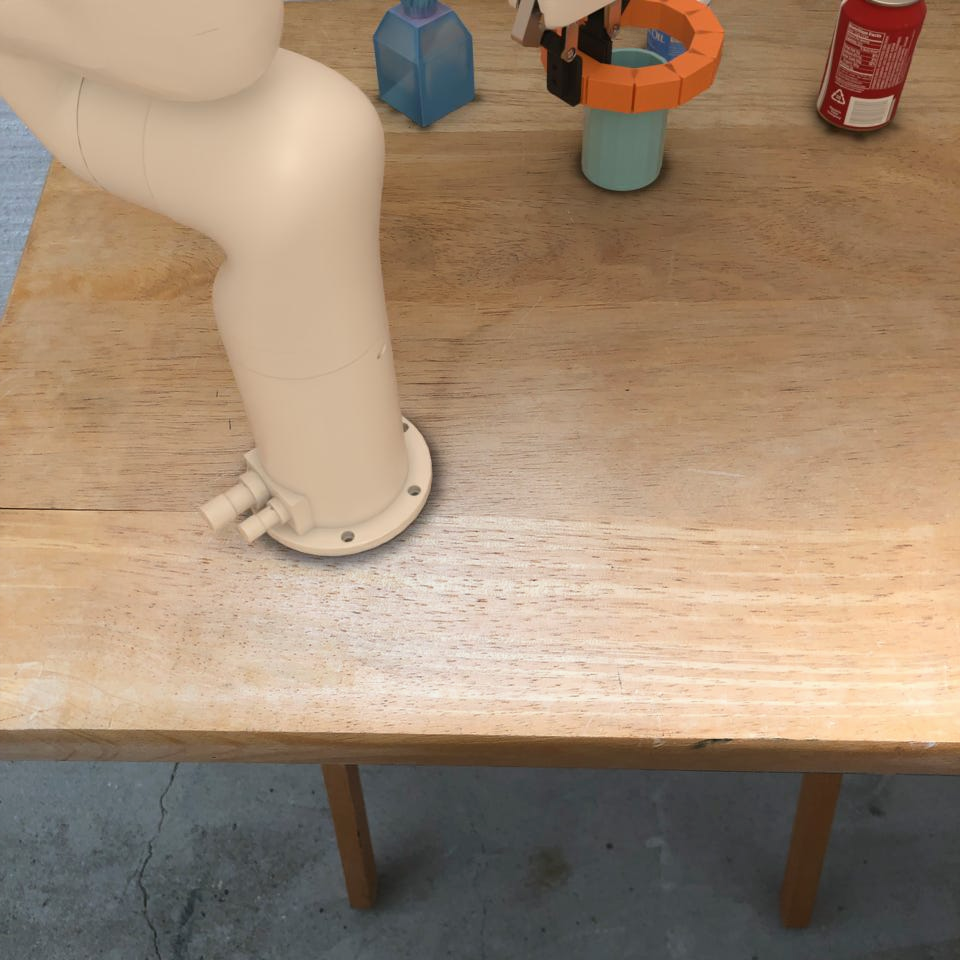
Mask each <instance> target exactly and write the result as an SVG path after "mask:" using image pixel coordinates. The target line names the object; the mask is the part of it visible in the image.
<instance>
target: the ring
mask: <svg viewBox="0 0 960 960" xmlns="http://www.w3.org/2000/svg"><path fill="white" fill-rule="evenodd" d="M581 24H584V25H585V23H584V21H583V18H581V19H579V25H581ZM627 26H630V27H635V28H641V29H647V30H648V29H655V30H660V31H662V32H664V33H665V34H667V35H669V36H671V37H673V38H675V39H677V40H678V41H680V42H682V44H683V45H684V47H685V49H686V52H685V53H683V54H681V55H680V56H678V57H676V58H675V59H673V60H671V61H670V62H668V63H666V64H660V65H654V66H647V67H641V68H628V67H622V66H615V65H609V64H603V63H600V62H598V61H596V60H595V59H593V58H591V57H589V56H588V55H586V54H584V53H583V52H581V51H579V50H578V49H577V55H579V56H581V58H582V60H583V68H582V81H581V100H580V104H581V105H582V106H584V105H585V104H587V107H592V108H598V109H603V110H609V111H615V112H621V113H627V114H631V111H633V113H634V114H637V113H643V112H650V111H656V110H662V109H669V110H670V109H674V108H678V106H679V107H681V106H683V105H684V104H686V103H688V102H689V101H691V100H692V99H694V98H696V97H697V96H699V95H700V94H702V93H704V92H705V91H707V90H708V89H710V88H711V86H713V84H714V81H715V78H716V75H717V73H718V70H719V67H720V64H721V59H722V55H723V54H722V53H723V48H724V42H725V41H724V40H725V30H724V28H723V27H722V25H721V23H720V22H719V20H718V18H717V16H716V15H715V13H714V11H713V10H712V8H711V7H710V8H708V6H707V5H705V4H703V3H701V2H699V1H697V0H630V2H629V4H628V6H627V7H626V9H625V11H624V13H623V14H622V16H621V24H620V28H622V27H627ZM561 31H562V28H559V29H557V34H558V35H560V36H561ZM540 61H541V64H542V66H543V68H544V71H545V74H546V75H547V50H546V49H545V48H543V47H542V46H540ZM580 104H579V105H580Z"/></svg>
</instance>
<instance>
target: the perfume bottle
mask: <svg viewBox="0 0 960 960" xmlns="http://www.w3.org/2000/svg"><path fill="white" fill-rule="evenodd" d="M399 2H400V3H397V4H395V5H394V6H392V7H390V8H387V10H386V11H385V13H384V15H383V17H382V19H381V20H380V22H379V24H378V26H377V28H376V29H375V31H374V33H373V35H372V43H373V51H374V60H375V68H376V77H377V85H378V92H379V93H378V94H379V99H380V100H382V101H383V102H385V103H386V104H387V105H389V106H391V107H392V108H393V109H395V110H397V111H398V112H400V113H401V114H403V115H404V116H405V117H407V118H408V119H410V120H412V121H413V122H415V124H418V125H419V126H420V127H422V128H426V127H427V126H429V125H432V124H433V123H435V122H436V121H437V120H440V119H442V118H443V117H445V116H447V115H449V114H450V113H453V112H454V111H456V110H457V109H459V108H462V106H464V105H466V104H468V103H470V102H471V101H473V100H476V91H475V90H476V88H475V67H474V66H475V65H474V64H475V63H474V42H473V35H472V34H471V32H470V30H468V28H467V27H466V25H465V24H464V23H463V21H462V20H461V18H460V17H459V16H458V14H457V13H456V11H455V10H454V8H451V7H449V6H448V5H446V4H444V3H443V2H441V1H439V0H399Z"/></svg>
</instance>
